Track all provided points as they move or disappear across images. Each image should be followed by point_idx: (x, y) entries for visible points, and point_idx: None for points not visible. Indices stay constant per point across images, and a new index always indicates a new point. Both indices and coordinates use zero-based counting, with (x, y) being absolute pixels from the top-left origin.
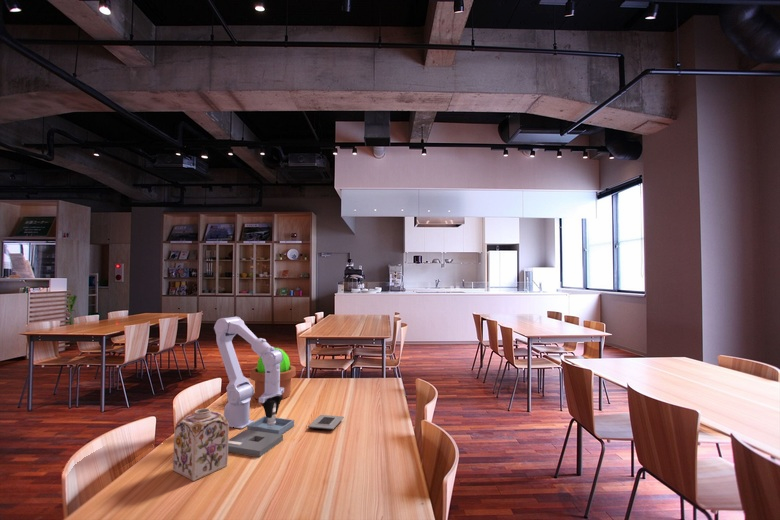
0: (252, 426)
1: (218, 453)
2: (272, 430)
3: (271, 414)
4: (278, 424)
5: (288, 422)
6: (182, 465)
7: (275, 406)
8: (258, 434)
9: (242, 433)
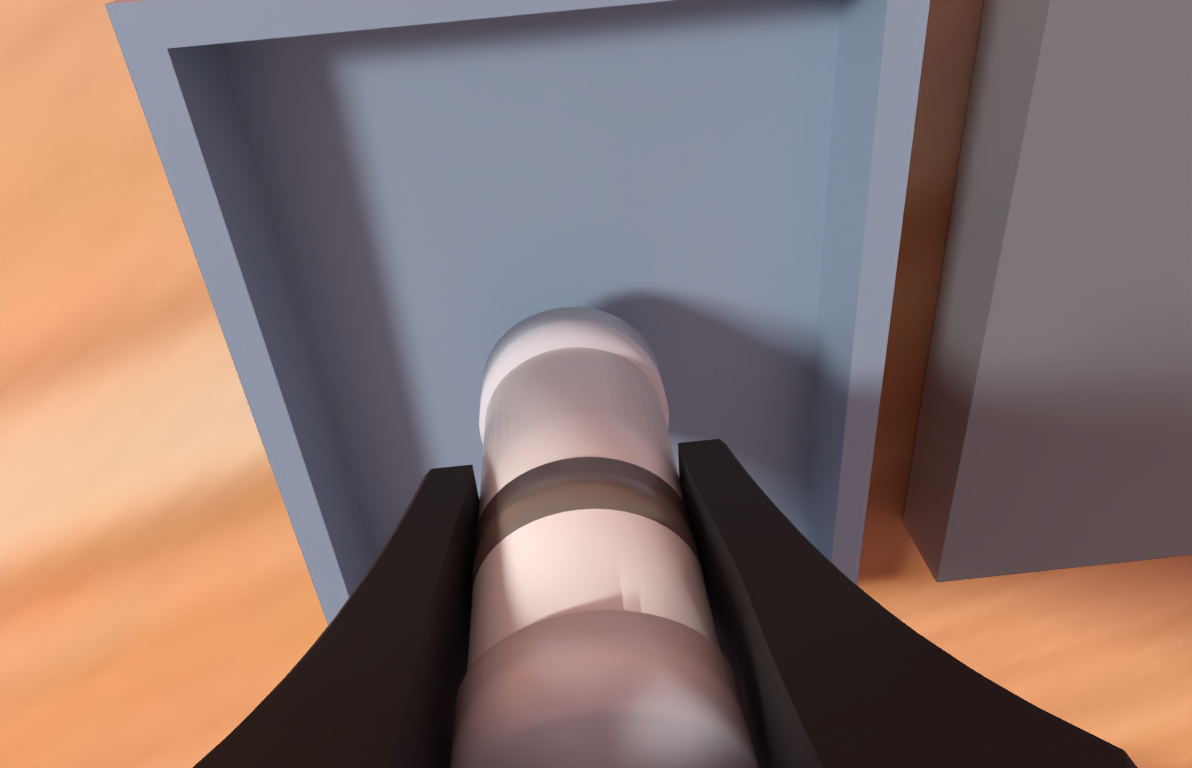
0: (856, 567)
1: None
2: (904, 127)
3: (737, 481)
4: (351, 337)
5: (226, 145)
6: None
7: (585, 630)
8: (1143, 267)
9: (1109, 527)
